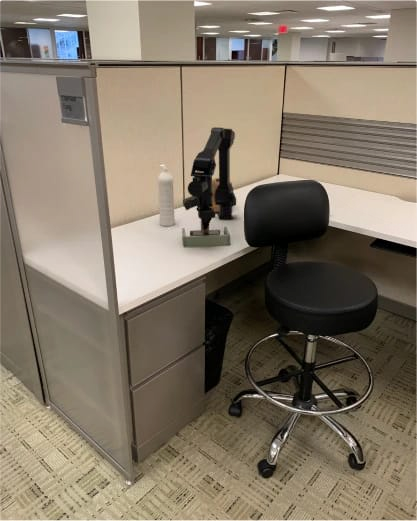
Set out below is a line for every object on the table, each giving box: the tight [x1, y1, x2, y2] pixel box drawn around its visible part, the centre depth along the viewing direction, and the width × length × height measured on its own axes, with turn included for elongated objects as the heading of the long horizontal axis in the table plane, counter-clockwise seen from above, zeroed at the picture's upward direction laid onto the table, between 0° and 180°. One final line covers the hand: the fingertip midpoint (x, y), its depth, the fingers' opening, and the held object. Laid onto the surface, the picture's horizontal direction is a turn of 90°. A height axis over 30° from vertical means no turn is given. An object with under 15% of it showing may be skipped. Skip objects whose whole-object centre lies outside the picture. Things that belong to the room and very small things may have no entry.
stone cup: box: [211, 177, 233, 213], centre depth 198 cm, size 15×12×15 cm
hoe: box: [189, 218, 221, 236], centre depth 164 cm, size 3×12×9 cm, turn 96°
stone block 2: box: [208, 229, 221, 235], centre depth 162 cm, size 4×4×4 cm
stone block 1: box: [192, 230, 203, 236], centre depth 161 cm, size 4×4×4 cm
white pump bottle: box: [157, 164, 176, 227], centre depth 177 cm, size 9×6×25 cm
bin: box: [181, 226, 231, 248], centre depth 162 cm, size 10×18×4 cm, turn 96°
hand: (204, 228), depth 164 cm, fingers closed on hoe, 3 cm apart
